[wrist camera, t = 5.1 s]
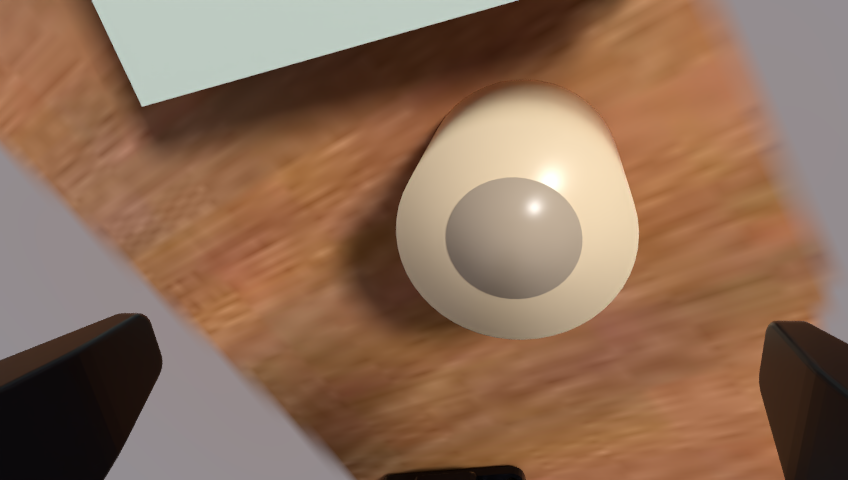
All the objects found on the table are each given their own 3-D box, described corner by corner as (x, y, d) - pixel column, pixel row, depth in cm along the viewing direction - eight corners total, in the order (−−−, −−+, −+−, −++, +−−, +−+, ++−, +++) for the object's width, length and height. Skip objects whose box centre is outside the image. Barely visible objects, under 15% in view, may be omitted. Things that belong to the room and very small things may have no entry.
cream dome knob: (632, 241, 21) (654, 324, 17) (454, 271, 23) (431, 353, 19) (601, 56, 19) (618, 96, 14) (404, 105, 21) (364, 155, 16)
